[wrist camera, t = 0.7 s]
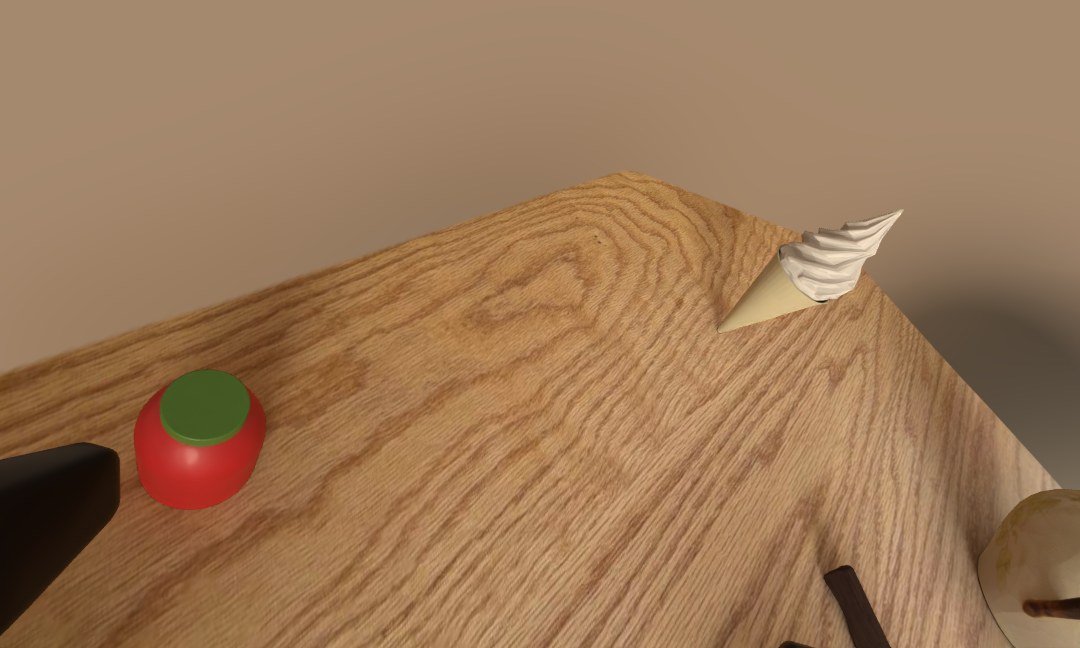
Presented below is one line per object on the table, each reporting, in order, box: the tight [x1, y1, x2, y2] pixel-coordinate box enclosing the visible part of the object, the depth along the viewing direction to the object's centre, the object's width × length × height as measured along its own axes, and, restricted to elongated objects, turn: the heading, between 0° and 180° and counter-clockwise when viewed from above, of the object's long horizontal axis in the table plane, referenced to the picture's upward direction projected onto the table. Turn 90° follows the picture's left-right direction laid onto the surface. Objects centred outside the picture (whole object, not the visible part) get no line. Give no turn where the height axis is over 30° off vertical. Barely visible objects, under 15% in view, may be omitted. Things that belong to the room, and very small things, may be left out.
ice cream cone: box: [717, 209, 904, 333], centre depth 37 cm, size 5×5×15 cm
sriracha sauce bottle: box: [134, 370, 266, 510], centre depth 18 cm, size 4×4×5 cm
